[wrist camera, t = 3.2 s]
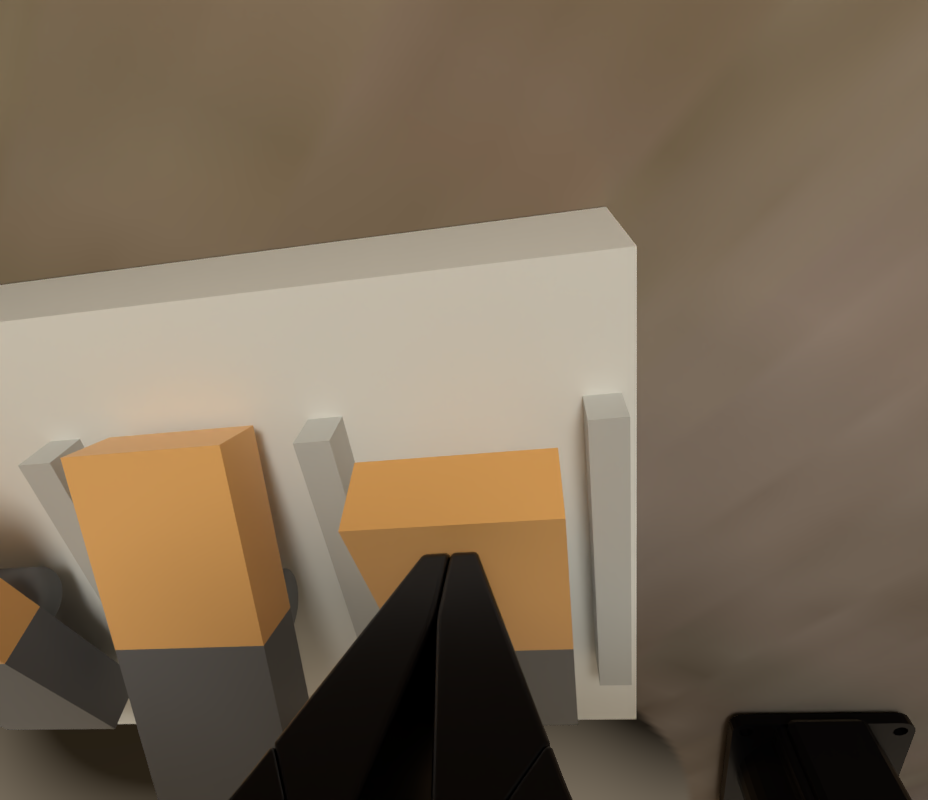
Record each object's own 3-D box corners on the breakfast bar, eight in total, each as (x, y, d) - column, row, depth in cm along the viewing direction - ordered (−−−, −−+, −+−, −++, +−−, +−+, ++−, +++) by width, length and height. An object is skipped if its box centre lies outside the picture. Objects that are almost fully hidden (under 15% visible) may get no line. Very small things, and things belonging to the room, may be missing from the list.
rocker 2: (335, 733, 15) (301, 816, 13) (215, 733, 16) (162, 814, 14) (273, 413, 13) (219, 444, 11) (138, 425, 14) (60, 457, 12)
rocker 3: (569, 631, 16) (577, 724, 14) (447, 635, 17) (442, 725, 15) (553, 405, 10) (565, 518, 8) (364, 421, 11) (338, 531, 9)
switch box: (615, 616, 20) (643, 759, 16) (113, 633, 23) (20, 759, 19) (606, 206, 14) (647, 260, 10) (-94, 297, 17) (-314, 371, 12)
